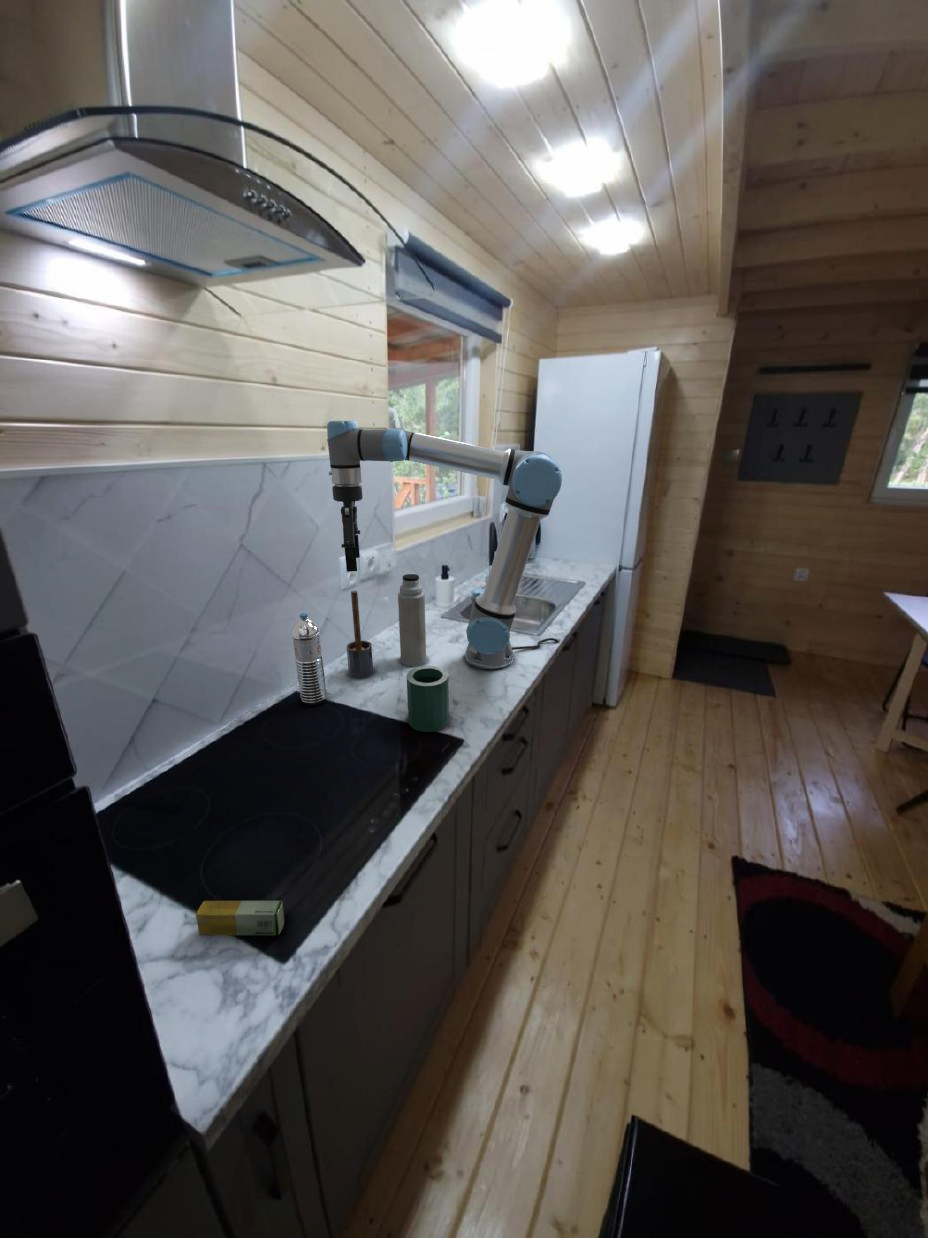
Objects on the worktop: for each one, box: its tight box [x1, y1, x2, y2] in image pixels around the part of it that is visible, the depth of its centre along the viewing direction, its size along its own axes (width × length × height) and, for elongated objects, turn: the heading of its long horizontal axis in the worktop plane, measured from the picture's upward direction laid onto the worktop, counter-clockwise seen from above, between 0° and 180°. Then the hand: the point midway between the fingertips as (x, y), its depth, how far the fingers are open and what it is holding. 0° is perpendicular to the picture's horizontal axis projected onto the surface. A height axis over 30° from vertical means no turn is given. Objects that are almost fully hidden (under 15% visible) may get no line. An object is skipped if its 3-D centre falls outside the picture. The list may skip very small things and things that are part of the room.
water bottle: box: [291, 612, 328, 707], centre depth 129 cm, size 7×7×25 cm
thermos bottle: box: [397, 573, 427, 667], centre depth 151 cm, size 8×8×28 cm
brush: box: [350, 590, 365, 650], centre depth 144 cm, size 4×4×25 cm
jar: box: [405, 665, 450, 733], centre depth 123 cm, size 10×10×13 cm
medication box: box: [195, 900, 285, 937], centre depth 74 cm, size 12×3×4 cm, turn 91°
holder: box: [346, 640, 374, 679], centre depth 147 cm, size 7×7×9 cm
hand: (353, 564), depth 136 cm, fingers open, 13 cm apart
